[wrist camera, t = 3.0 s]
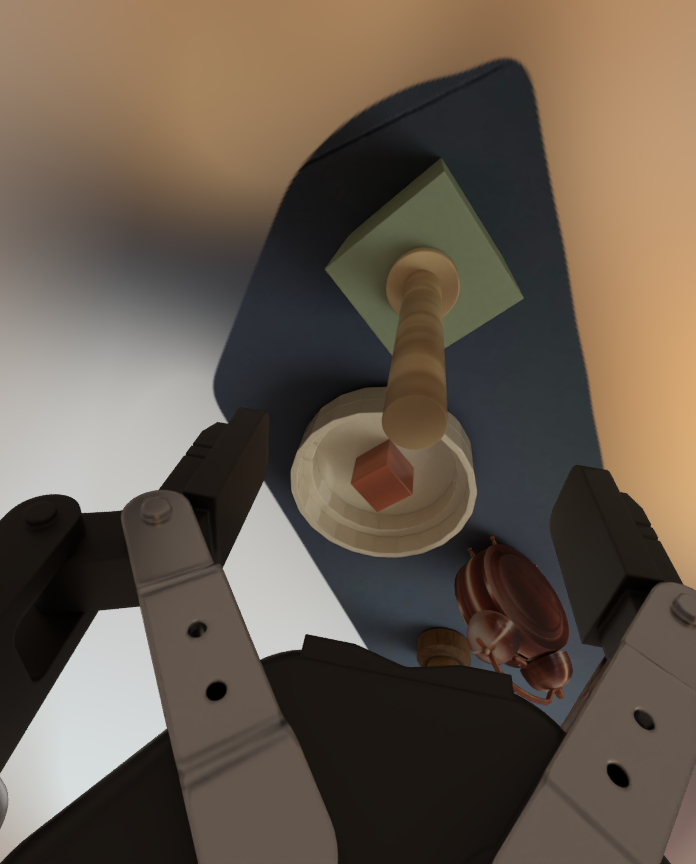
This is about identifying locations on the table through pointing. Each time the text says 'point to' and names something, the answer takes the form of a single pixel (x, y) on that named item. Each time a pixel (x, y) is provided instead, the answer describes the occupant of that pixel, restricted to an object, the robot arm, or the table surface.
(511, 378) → the table surface
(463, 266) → the stand
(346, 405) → the bowl
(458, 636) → the mortar and pestle
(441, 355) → the stick
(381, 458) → the block
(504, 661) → the alarm clock
